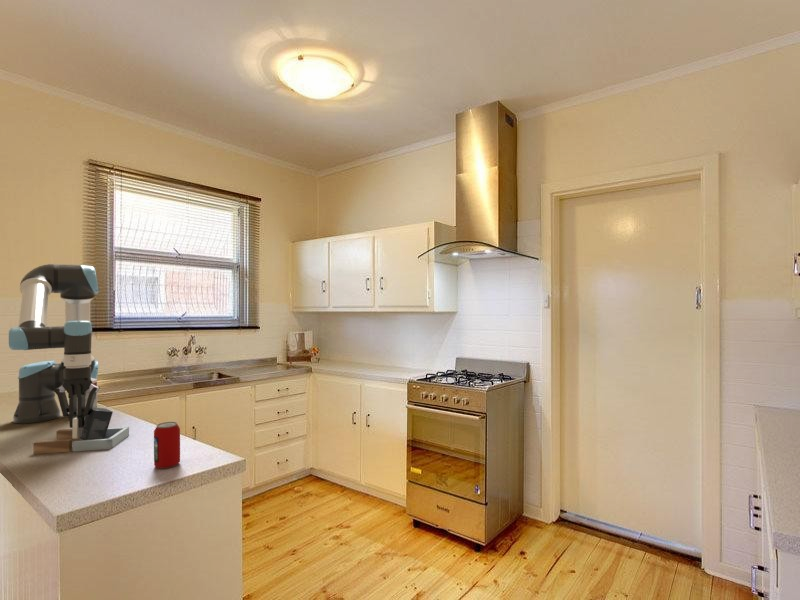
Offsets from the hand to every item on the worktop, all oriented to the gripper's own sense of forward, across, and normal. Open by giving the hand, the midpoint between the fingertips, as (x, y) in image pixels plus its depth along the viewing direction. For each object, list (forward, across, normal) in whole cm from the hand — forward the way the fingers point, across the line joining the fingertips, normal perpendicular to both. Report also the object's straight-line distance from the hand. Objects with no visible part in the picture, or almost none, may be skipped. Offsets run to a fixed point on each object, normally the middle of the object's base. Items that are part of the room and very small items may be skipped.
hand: (76, 437), depth 149 cm
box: (+2, +3, +2) cm, 4 cm away
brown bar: (+3, -4, +1) cm, 5 cm away
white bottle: (+3, -7, +22) cm, 23 cm away
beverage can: (+3, +36, -27) cm, 45 cm away
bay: (+3, +7, +1) cm, 8 cm away
